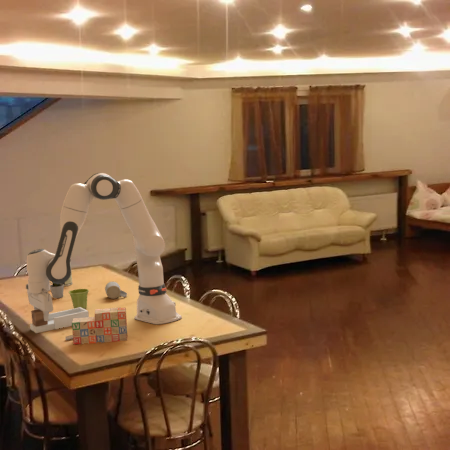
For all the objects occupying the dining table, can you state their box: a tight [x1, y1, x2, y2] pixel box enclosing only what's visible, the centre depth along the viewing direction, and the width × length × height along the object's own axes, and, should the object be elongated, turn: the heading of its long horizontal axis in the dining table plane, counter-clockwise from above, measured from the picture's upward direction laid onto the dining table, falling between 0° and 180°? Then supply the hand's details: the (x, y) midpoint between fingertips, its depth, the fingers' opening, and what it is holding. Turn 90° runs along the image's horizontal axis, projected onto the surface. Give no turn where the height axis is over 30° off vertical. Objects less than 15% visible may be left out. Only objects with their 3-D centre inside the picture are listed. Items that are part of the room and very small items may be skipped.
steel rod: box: [65, 334, 73, 341], centre depth 262 cm, size 14×2×2 cm
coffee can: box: [61, 258, 74, 287], centre depth 357 cm, size 10×10×14 cm
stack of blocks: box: [71, 307, 128, 345], centre depth 255 cm, size 21×6×12 cm, turn 97°
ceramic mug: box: [104, 281, 128, 300], centre depth 323 cm, size 11×8×8 cm
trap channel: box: [29, 307, 90, 334], centre depth 278 cm, size 9×24×5 cm, turn 126°
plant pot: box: [68, 288, 90, 309], centre depth 305 cm, size 9×9×9 cm
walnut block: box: [30, 309, 48, 327], centre depth 273 cm, size 5×5×6 cm
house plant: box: [49, 280, 65, 299], centre depth 329 cm, size 14×14×16 cm
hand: (41, 318), depth 274 cm, fingers open, 8 cm apart
